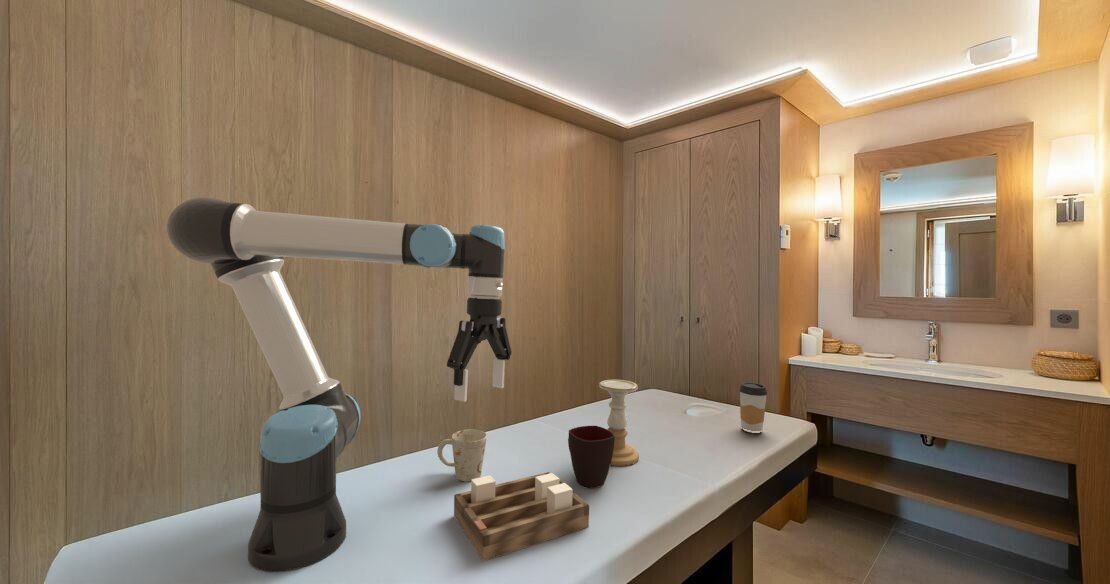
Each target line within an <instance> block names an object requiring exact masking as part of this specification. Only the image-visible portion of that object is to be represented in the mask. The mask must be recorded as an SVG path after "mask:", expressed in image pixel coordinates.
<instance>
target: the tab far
mask: <svg viewBox="0 0 1110 584" xmlns="http://www.w3.org/2000/svg"><path fill="white" fill-rule="evenodd" d="M470 483H471V484H470V485H471V487H470V491H471V504H473V503H477V502H481V501H485V500H489V499H493V498H495V485H497V484H496V480H495V479H494V478H493V477H492V476H491V475H490V474H489V475H485V476H480V478H476V479H471V481H470Z"/></svg>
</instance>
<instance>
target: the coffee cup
mask: <svg viewBox="0 0 1110 584" xmlns="http://www.w3.org/2000/svg"><path fill="white" fill-rule="evenodd" d="M740 385H741V386H740V387H739V398H740V399H739V401H740V404H739V411H740V413H739V414H740V428H741V427H742V428H744V429H747V430H751V431H761V430H762V431H763V429H764V428H763V427H764V421H765V412H766V404H767V403H766V401H767V395H768V389H767V387H766V385H764V384H762V383H756V382H742V383H741V384H740ZM742 428H741V429H742Z"/></svg>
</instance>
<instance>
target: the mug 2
mask: <svg viewBox="0 0 1110 584" xmlns="http://www.w3.org/2000/svg"><path fill="white" fill-rule="evenodd" d="M607 429H608V428H605V427H602V426H598V425H584V426H583V425H582V426H577V427H574V428H573V427H572V428H570V429H568V437H567V438H568V439H567V445H568V446H567V447H568V450H569V455H570V460H571V466H572V470H573V474H574V477H575V478H574V479H575V480H576V483H577V484H578V485H580V486H581V487H583V488H585V489H596V488H600V487H602V486H604V485H605V482H606V481H607V477H608V474H609V471H610V468H611V465H610V464H611V460H612V456H613V450H614V441H615V436H614V434H613V433H612V432H611V431H609V430H607Z"/></svg>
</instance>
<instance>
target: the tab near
mask: <svg viewBox="0 0 1110 584" xmlns="http://www.w3.org/2000/svg"><path fill="white" fill-rule="evenodd" d="M573 492H574V491H573V488H572V487H571V486H570V485H568V484H567V483H565V482H562V484H558V485H554V486H550V487H547V513H552V512H555V511H558V510H562V509H565V508H569V507H572V496H573Z"/></svg>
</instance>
